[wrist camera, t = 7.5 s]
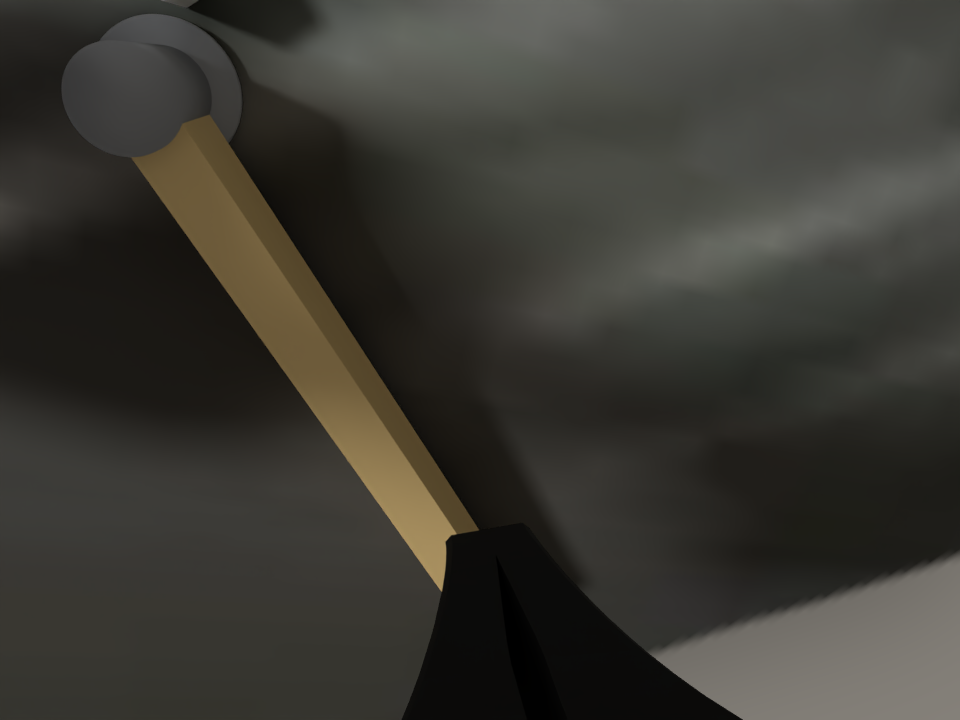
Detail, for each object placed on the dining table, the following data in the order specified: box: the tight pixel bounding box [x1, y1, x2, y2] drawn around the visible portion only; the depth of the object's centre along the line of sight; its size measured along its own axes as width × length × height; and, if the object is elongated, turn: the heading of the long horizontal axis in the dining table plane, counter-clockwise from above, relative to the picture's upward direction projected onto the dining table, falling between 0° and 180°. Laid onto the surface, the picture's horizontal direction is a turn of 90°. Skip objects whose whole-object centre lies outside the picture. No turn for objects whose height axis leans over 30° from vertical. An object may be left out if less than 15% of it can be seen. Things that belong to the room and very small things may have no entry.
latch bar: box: [61, 40, 479, 591], centre depth 17 cm, size 17×2×3 cm, turn 27°
